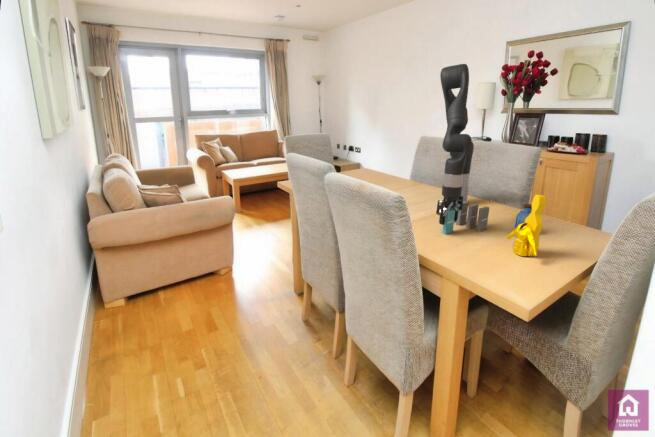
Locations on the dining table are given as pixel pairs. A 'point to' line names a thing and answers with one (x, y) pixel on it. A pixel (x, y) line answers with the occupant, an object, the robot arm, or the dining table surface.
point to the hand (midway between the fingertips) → (448, 222)
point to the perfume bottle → (523, 214)
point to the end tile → (449, 222)
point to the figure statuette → (529, 230)
